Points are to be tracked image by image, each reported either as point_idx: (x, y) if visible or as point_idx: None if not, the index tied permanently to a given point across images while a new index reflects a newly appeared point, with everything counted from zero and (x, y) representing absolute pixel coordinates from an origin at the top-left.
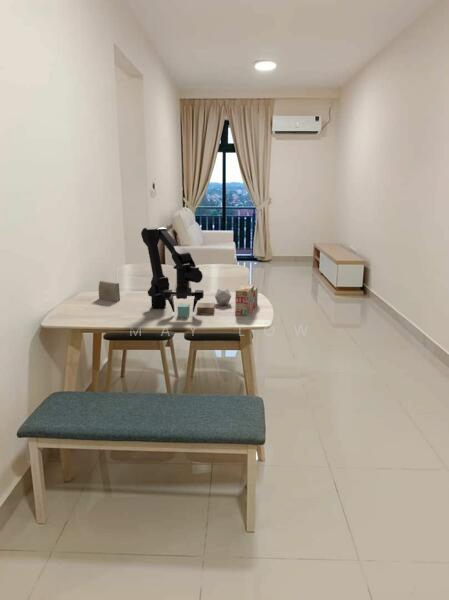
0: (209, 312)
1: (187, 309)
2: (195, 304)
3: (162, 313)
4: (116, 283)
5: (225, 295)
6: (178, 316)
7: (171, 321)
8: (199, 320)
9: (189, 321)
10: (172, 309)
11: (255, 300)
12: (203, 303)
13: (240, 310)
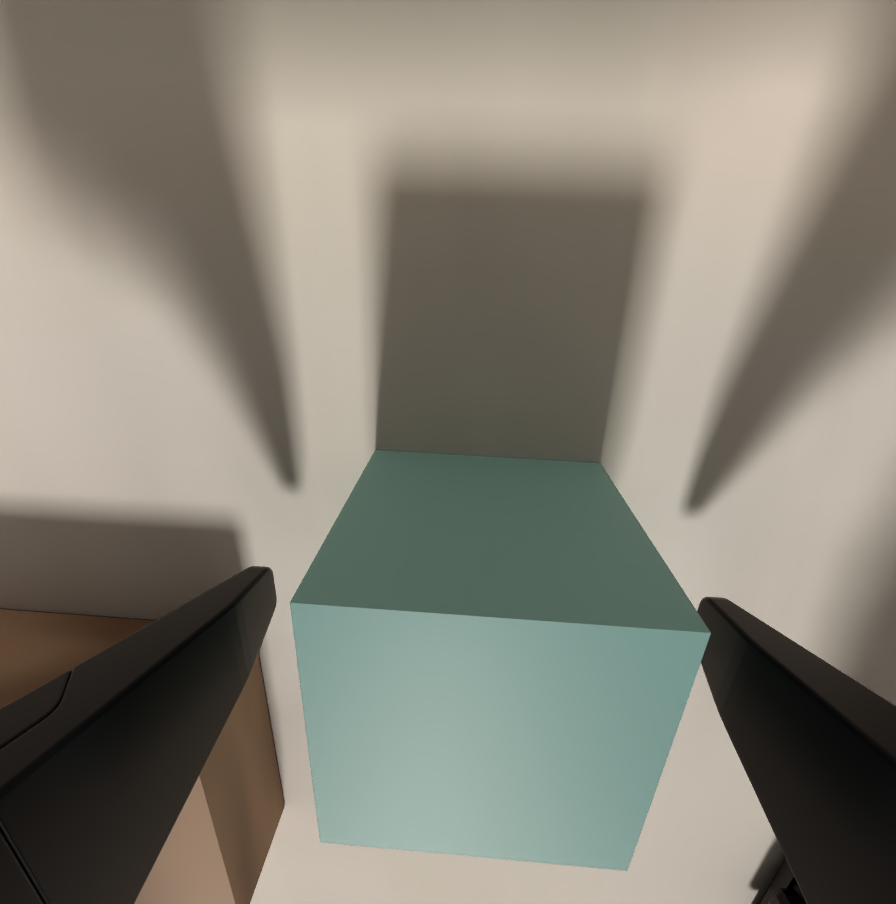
0: (28, 628)
1: (352, 541)
2: (14, 714)
3: (876, 658)
4: None
5: None
6: (586, 464)
7: (803, 62)
8: (76, 178)
9: (301, 74)
10: (784, 636)
11: None
12: (142, 897)
13: None
